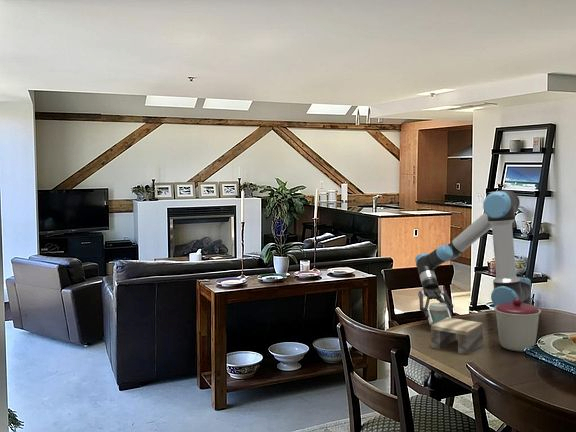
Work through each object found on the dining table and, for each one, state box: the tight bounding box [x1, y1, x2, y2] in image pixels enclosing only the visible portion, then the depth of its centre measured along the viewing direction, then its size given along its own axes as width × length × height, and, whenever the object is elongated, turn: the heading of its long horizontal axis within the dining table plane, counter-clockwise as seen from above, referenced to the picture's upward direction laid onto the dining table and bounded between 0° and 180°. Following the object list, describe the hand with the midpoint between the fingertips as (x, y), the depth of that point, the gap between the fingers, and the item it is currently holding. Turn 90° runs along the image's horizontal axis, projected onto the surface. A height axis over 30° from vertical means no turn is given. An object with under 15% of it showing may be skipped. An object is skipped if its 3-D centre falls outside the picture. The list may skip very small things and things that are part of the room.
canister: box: [493, 298, 542, 352], centre depth 230 cm, size 18×18×21 cm
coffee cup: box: [428, 302, 448, 325], centre depth 260 cm, size 8×8×12 cm
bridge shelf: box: [430, 316, 484, 356], centre depth 235 cm, size 16×16×10 cm
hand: (440, 322), depth 257 cm, fingers closed on coffee cup, 8 cm apart
